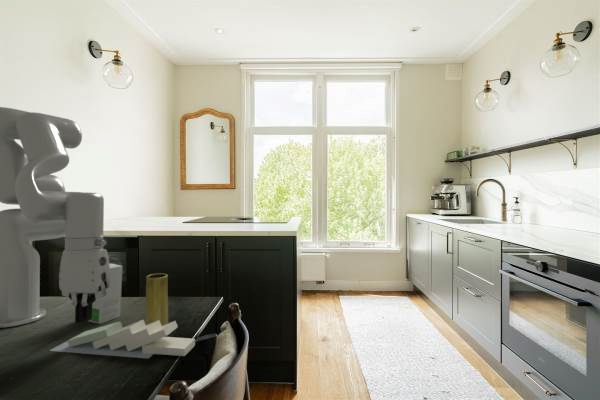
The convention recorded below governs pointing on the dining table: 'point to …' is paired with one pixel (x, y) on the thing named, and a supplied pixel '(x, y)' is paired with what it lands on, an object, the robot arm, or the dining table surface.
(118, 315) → the skincare box
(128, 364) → the dining table surface
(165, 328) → the tile
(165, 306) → the vase
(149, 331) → the tile
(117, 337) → the tile
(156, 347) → the tile
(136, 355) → the runner mat
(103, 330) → the sage green rectangular block
